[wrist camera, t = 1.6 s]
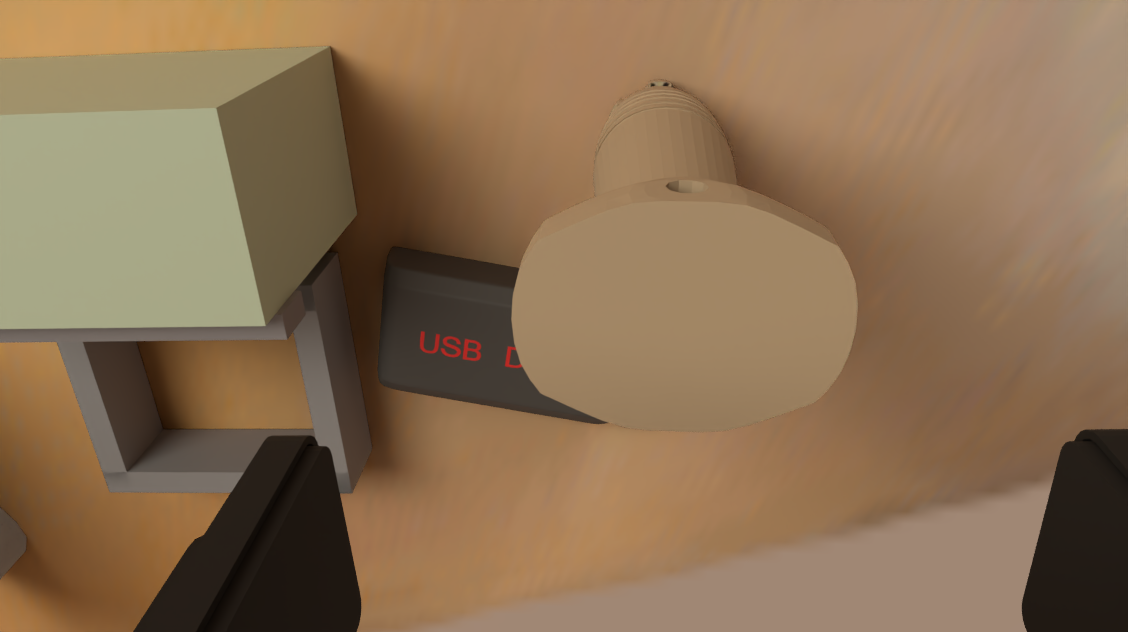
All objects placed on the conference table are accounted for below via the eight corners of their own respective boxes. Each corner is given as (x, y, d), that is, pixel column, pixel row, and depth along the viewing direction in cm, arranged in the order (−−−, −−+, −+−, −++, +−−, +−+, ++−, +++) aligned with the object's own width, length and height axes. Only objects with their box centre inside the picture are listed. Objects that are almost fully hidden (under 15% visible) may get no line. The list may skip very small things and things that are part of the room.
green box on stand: (335, 45, 29) (223, 107, 21) (400, 448, 36) (335, 608, 28) (-11, 59, 30) (-244, 123, 22) (120, 448, 37) (-19, 603, 29)
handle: (563, 51, 29) (506, 197, 15) (758, 53, 28) (877, 204, 15) (564, 190, 31) (515, 425, 17) (745, 193, 30) (837, 437, 17)
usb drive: (394, 242, 32) (375, 271, 30) (705, 296, 33) (712, 330, 30) (385, 360, 35) (367, 395, 32) (675, 410, 35) (679, 449, 33)
